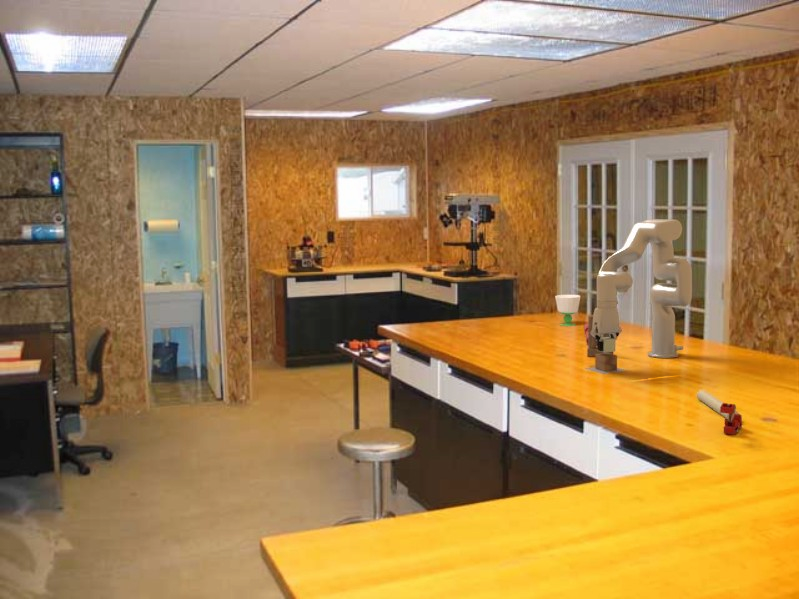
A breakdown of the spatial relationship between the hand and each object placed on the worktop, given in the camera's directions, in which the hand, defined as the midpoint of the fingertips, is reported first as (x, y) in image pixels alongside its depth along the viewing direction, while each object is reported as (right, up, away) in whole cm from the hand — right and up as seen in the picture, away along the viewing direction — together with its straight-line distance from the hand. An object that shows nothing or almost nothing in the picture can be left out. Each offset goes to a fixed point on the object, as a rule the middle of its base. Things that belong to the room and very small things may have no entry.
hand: (606, 349), depth 331 cm
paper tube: (+20, -16, -63) cm, 68 cm away
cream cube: (0, -1, 0) cm, 0 cm away
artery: (+12, 0, +80) cm, 81 cm away
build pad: (0, -9, +1) cm, 9 cm away
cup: (+10, +6, +124) cm, 125 cm away
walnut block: (0, -8, +1) cm, 8 cm away
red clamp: (+15, -19, -88) cm, 91 cm away
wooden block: (+5, -5, +32) cm, 33 cm away
